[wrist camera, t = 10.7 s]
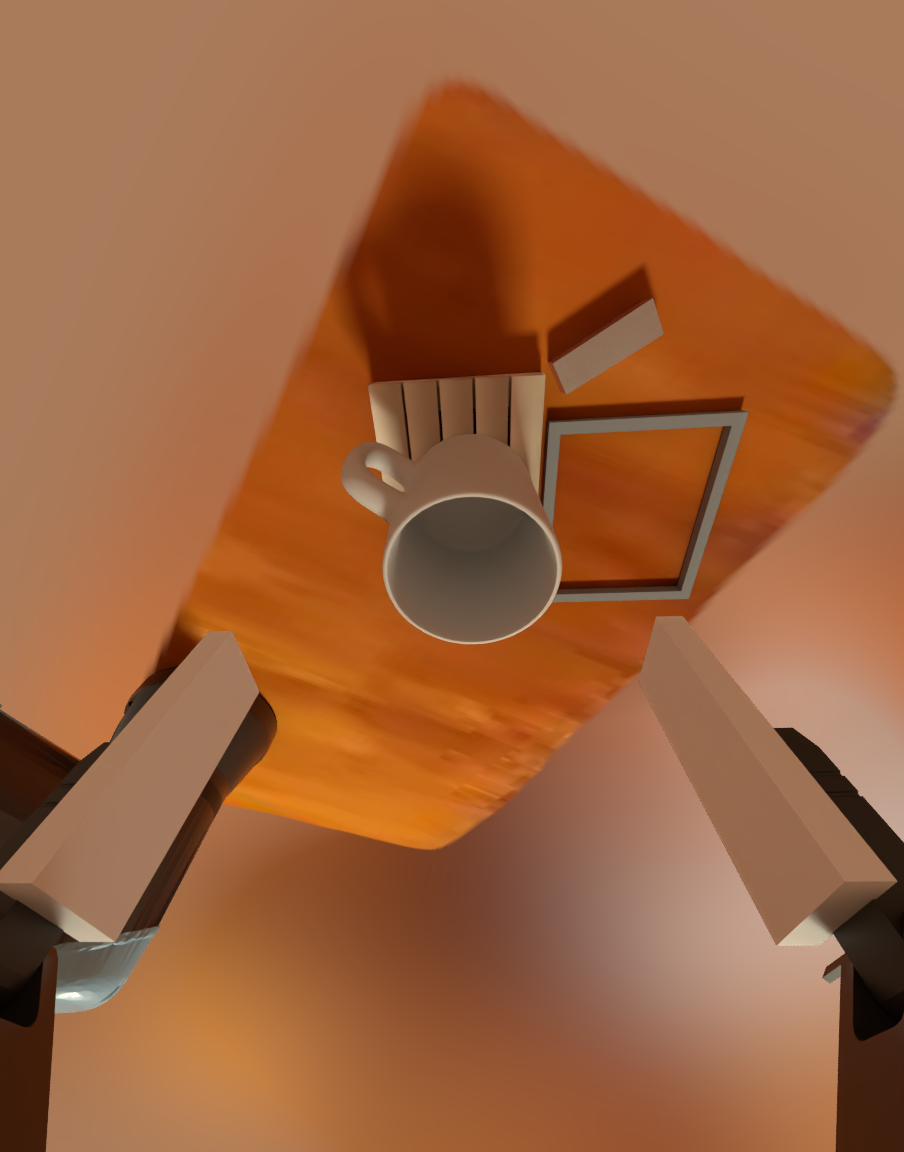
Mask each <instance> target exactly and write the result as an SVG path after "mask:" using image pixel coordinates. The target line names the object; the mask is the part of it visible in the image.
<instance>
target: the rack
mask: <svg viewBox="0 0 904 1152" xmlns="http://www.w3.org/2000/svg"><path fill="white" fill-rule="evenodd" d="M368 388H369V395H370V401H371V408H372V414H373V421H374V427H375V434H376V440H377V442H378V443H381V444H384V445H386V446H389V447H390V448H392V449H394V450H396V451H398V452H399V453H401V454H402V455H404V456H406V457H407V458H409V459H410V460H411V456H412V461H414V462H416V463H419V461H420V460H421V458H422V457H423V456H424V455H425V454H426V453H427V452H428V451H429V450H430V449H431V448H432V447H434V446H435V445H436V444H438V443H440V442H441V430H440V415H439V411H441V416H442V431H443V440H446V439H448V438H450V437H454V436H457V435H463V434H473V409H476V434H479V435H485V436H489V437H492V438H495V439H497V440H499V441H501V442H503V443H504V444H506V445H507V438H508V407H510V418H509V447H510V448H511V449H512V450H514V451H515V452H516V454H517V455H518V456H519V457H520V458H521V460H522V461H523V463H524V464H525V466H526V468H527V470H528V472H529V474H530V477H531V480H532V483H533V485H534V488H535V490H536V492H537V494H538V488H539V472H540V455H541V439H542V423H543V407H544V391H545V374H544V373H542V372H533V373H517V374H500V375H484V376H468V377H452V378H436V379H419V380H403V381H387V382H374V383H371V384H370V385H368ZM406 412H407V417H406ZM407 420H408V426H407ZM408 429H409V435H408ZM409 438H410V444H409ZM410 447H411V453H410ZM382 479H383V482H385V483H387V484H388V485H390V486H392V487H394V488H395V489H397V490H399V491H402V492H404V488H403V486H402V485H401V484H400V483H399V482H397V481H396V480H395V479H393V478H392V477H390V476H389V475H387V474H385V473H383V472H382Z"/></svg>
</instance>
